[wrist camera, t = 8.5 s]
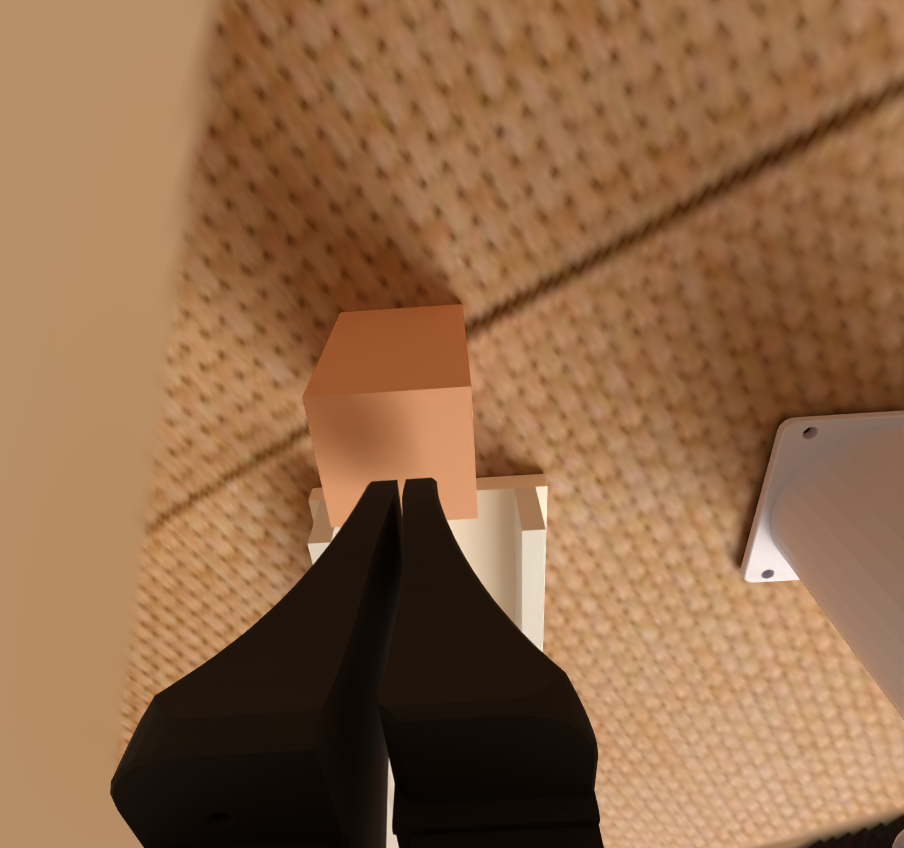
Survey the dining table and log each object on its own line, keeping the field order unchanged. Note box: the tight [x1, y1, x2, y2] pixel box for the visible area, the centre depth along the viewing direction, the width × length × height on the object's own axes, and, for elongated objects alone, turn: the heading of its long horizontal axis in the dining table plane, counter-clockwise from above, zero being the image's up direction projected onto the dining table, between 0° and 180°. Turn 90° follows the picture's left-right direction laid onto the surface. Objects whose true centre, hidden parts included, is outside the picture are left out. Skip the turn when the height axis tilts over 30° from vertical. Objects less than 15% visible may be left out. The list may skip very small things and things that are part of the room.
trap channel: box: [308, 474, 547, 848], centre depth 27 cm, size 9×25×3 cm, turn 4°
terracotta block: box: [302, 304, 478, 527], centre depth 17 cm, size 4×6×4 cm
